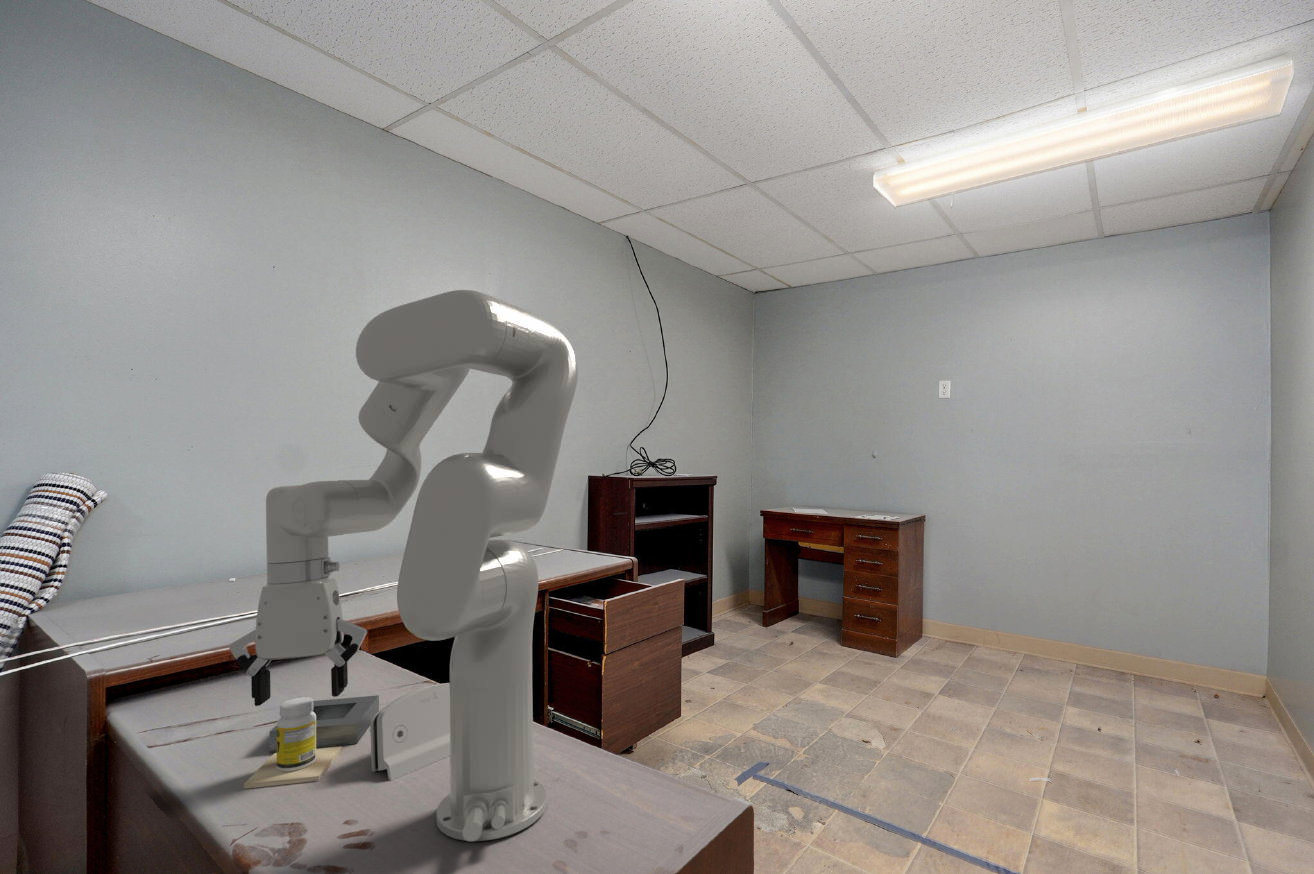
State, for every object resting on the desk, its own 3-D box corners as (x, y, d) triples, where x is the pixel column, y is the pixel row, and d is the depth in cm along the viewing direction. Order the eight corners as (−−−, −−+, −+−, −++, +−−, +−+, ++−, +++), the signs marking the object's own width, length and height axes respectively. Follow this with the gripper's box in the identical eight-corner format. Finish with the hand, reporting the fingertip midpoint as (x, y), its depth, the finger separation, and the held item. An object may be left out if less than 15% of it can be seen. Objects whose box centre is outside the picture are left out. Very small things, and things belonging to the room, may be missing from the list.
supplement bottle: (282, 759, 85) (282, 698, 86) (319, 754, 87) (320, 693, 87) (271, 775, 81) (272, 710, 81) (311, 769, 82) (312, 705, 83)
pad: (318, 780, 80) (318, 776, 80) (243, 788, 79) (243, 784, 79) (341, 750, 89) (341, 746, 89) (274, 757, 87) (274, 753, 87)
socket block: (356, 743, 91) (356, 723, 91) (269, 752, 89) (269, 731, 89) (378, 713, 103) (379, 695, 103) (302, 720, 101) (302, 701, 101)
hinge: (388, 781, 79) (375, 702, 82) (371, 784, 82) (360, 707, 85) (494, 736, 92) (480, 669, 95) (477, 740, 95) (464, 674, 98)
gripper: (371, 564, 91) (375, 682, 89) (243, 575, 87) (245, 697, 86) (355, 571, 83) (359, 699, 82) (215, 582, 80) (216, 716, 79)
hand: (300, 697), depth 84 cm, fingers open, 9 cm apart
